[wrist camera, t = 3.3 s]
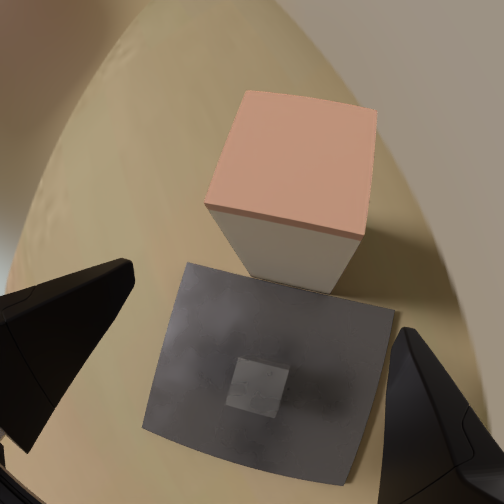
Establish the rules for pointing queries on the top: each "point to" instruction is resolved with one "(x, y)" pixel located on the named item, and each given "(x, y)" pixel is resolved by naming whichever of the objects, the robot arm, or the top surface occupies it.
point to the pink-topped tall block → (295, 187)
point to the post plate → (268, 374)
